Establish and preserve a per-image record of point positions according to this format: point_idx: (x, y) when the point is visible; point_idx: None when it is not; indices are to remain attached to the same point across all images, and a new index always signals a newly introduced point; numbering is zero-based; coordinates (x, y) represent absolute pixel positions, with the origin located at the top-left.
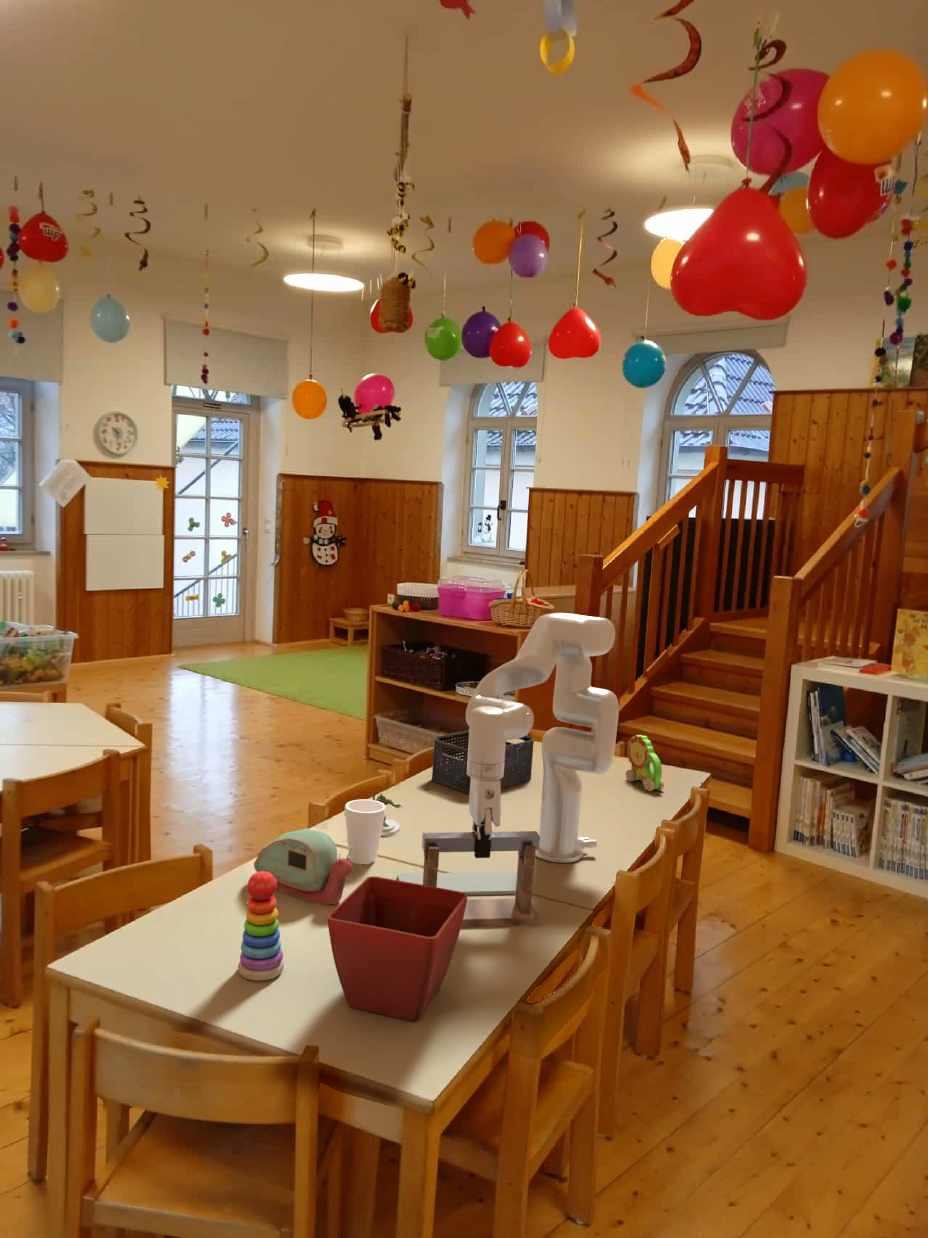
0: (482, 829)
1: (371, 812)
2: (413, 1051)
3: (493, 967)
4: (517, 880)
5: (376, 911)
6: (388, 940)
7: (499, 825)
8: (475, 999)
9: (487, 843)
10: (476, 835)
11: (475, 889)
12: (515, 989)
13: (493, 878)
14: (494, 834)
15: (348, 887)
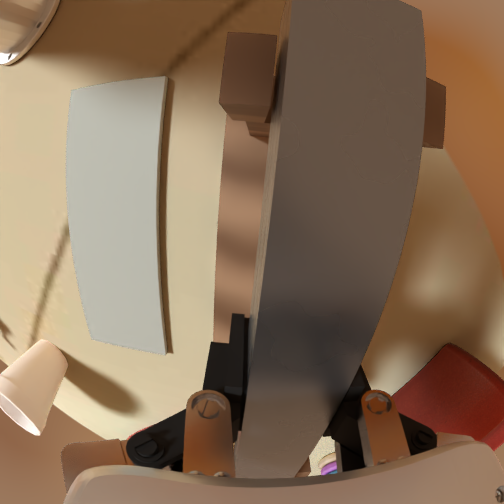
0: (237, 422)
1: (30, 420)
2: (490, 362)
3: (448, 267)
4: (260, 131)
5: None
6: (493, 440)
7: (484, 443)
8: (481, 307)
9: (369, 388)
10: (292, 435)
11: (145, 212)
12: (490, 255)
13: (92, 153)
14: (307, 365)
15: (142, 398)
